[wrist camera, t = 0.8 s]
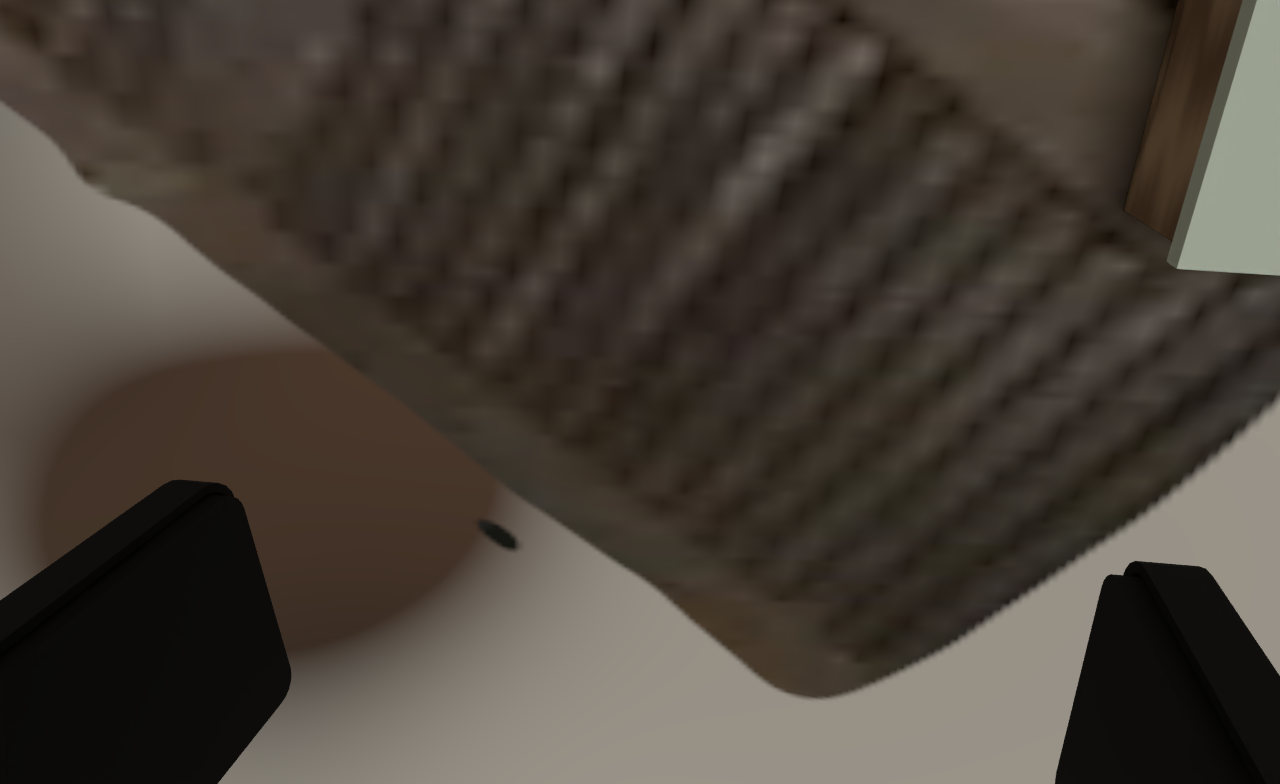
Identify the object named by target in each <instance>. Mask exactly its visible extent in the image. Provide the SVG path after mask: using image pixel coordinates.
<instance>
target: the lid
mask: <svg viewBox="0 0 1280 784" xmlns="http://www.w3.org/2000/svg"><path fill="white" fill-rule="evenodd" d="M1166 262H1168V263H1169V264H1171V265H1172V266H1173V267H1175V268H1176V269H1188V270H1203V271H1219V272H1234V273H1250V274H1265V275H1280V0H1243V1H1242V4H1241V8H1240V11H1239V15H1238V18H1237V21H1236V25H1235V28H1234V32H1233V35H1232V39H1231V42H1230V45H1229V49H1228V52H1227V56H1226V59H1225V63H1224V66H1223V69H1222V73H1221V76H1220V80H1219V83H1218V87H1217V90H1216V93H1215V97H1214V100H1213V104H1212V107H1211V110H1210V114H1209V117H1208V121H1207V124H1206V128H1205V131H1204V134H1203V138H1202V141H1201V145H1200V148H1199V152H1198V155H1197V158H1196V162H1195V165H1194V169H1193V172H1192V176H1191V179H1190V182H1189V186H1188V189H1187V193H1186V196H1185V200H1184V203H1183V206H1182V210H1181V213H1180V217H1179V220H1178V223H1177V227H1176V230H1175V234H1174V237H1173V241H1172V244H1171V247H1170V251H1169V254H1168V258H1167V261H1166Z"/></svg>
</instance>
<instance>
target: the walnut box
mask: <svg viewBox="0 0 1280 784" xmlns="http://www.w3.org/2000/svg"><path fill="white" fill-rule="evenodd" d="M1242 1H1243V0H1178V3H1177V7H1176V11H1175V15H1174V18H1173V22H1172V26H1171V30H1170V34H1169V38H1168V41H1167V45H1166V49H1165V53H1164V57H1163V60H1162V64H1161V68H1160V72H1159V76H1158V79H1157V83H1156V87H1155V91H1154V95H1153V99H1152V102H1151V106H1150V110H1149V114H1148V118H1147V121H1146V125H1145V129H1144V133H1143V137H1142V140H1141V144H1140V148H1139V152H1138V156H1137V160H1136V163H1135V167H1134V171H1133V175H1132V179H1131V182H1130V186H1129V190H1128V194H1127V198H1126V202H1125V205H1124V209H1123V211H1125V212H1127V213H1128V214H1130V215H1131V216H1133V217H1135V218H1136V219H1138V220H1139V221H1141V222H1143V223H1144V224H1146V225H1147V226H1149V227H1150V228H1152V229H1154V230H1155V231H1157V232H1158V233H1160V234H1162V235H1163V236H1165V237H1166V238H1168V239H1170V240H1171V241H1173V237H1174V234H1175V230H1176V227H1177V223H1178V220H1179V217H1180V213H1181V210H1182V206H1183V203H1184V200H1185V196H1186V193H1187V189H1188V186H1189V182H1190V179H1191V176H1192V172H1193V169H1194V165H1195V162H1196V158H1197V155H1198V152H1199V148H1200V145H1201V141H1202V138H1203V134H1204V131H1205V128H1206V124H1207V121H1208V117H1209V114H1210V110H1211V107H1212V104H1213V100H1214V97H1215V93H1216V90H1217V87H1218V83H1219V80H1220V76H1221V73H1222V69H1223V66H1224V63H1225V59H1226V56H1227V52H1228V49H1229V45H1230V42H1231V39H1232V35H1233V32H1234V28H1235V25H1236V21H1237V18H1238V15H1239V11H1240V8H1241V4H1242Z"/></svg>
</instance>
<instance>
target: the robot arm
mask: <svg viewBox="0 0 1280 784" xmlns="http://www.w3.org/2000/svg"><path fill="white" fill-rule="evenodd" d="M290 682H291V668H290V664H289V661H288V658H287V654H286V650H285V647H284V644H283V640H282V637H281V633H280V630H279V627H278V623H277V619H276V616H275V613H274V609H273V606H272V602H271V599H270V595H269V592H268V589H267V585H266V582H265V578H264V575H263V572H262V568H261V565H260V561H259V558H258V554H257V551H256V547H255V544H254V540H253V537H252V533H251V530H250V527H249V523H248V520H247V516H246V513H245V509H244V507H243V505H242V503H241V502H240V501H239V500H238V499H237V498H234V495H233V493H232V491H231V490H230V489H229V488H228V487H227V486H225V485H223V484H220V483H212V482H199V481H188V480H172V481H170V482H168V483H166V484H164V485H162V486H161V487H159V488H158V489H157V490H155V491H154V492H152V493H151V494H150V495H148V496H147V497H145V498H144V499H143V500H141V501H140V502H138V503H137V504H135V505H134V506H133V507H131V508H130V509H129V510H127V511H126V512H124V513H123V514H121V515H120V516H119V517H117V518H116V519H114V520H113V521H112V522H110V523H109V524H107V525H106V526H105V527H103V528H102V529H100V530H99V531H97V532H96V533H95V534H93V535H92V536H90V537H89V538H88V539H86V540H85V541H83V542H82V543H81V544H79V545H78V546H76V547H75V548H74V549H72V550H71V551H69V552H68V553H67V554H65V555H64V556H62V557H61V558H59V559H58V560H57V561H55V562H54V563H52V564H51V565H50V566H48V567H47V568H45V569H44V570H43V571H41V572H40V573H38V574H37V575H36V576H34V577H33V578H31V579H30V580H29V581H27V582H26V583H24V584H23V585H21V586H20V587H19V588H17V589H16V590H14V591H13V592H12V593H10V594H9V595H7V596H6V597H5V598H3V599H2V600H0V784H218V782H219V781H220V780H221V779H222V777H223V776H224V775H225V774H226V772H227V771H228V770H229V768H230V767H231V766H232V765H233V763H234V762H235V761H236V760H237V758H238V757H239V756H240V755H241V753H242V752H243V751H244V749H245V748H246V747H247V746H248V745H249V743H250V742H251V741H252V739H253V738H254V737H255V736H256V734H257V733H258V732H259V731H260V729H261V728H262V727H263V726H264V724H265V723H266V722H267V721H268V719H269V718H270V717H271V716H272V714H273V713H274V712H275V710H276V709H277V708H278V707H279V705H280V704H281V703H282V701H283V700H284V698H285V697H286V695H287V692H288V690H289V686H290ZM1055 784H1280V676H1279V674H1278V673H1277V671H1276V670H1275V668H1274V667H1273V665H1272V664H1271V662H1270V661H1269V659H1268V658H1267V656H1266V655H1265V653H1264V652H1263V650H1262V649H1261V648H1260V646H1259V645H1258V643H1257V642H1256V640H1255V639H1254V637H1253V636H1252V634H1251V633H1250V631H1249V630H1248V628H1247V627H1246V625H1245V624H1244V622H1243V621H1242V619H1241V618H1240V616H1239V615H1238V613H1237V612H1236V610H1235V609H1234V607H1233V606H1232V604H1231V603H1230V601H1229V600H1228V598H1227V597H1226V596H1225V594H1224V592H1223V591H1222V589H1221V588H1220V586H1219V585H1218V583H1217V582H1216V580H1215V579H1214V578H1213V576H1212V575H1211V574H1210V573H1209V572H1208V571H1207V570H1206V569H1205V568H1202V567H1199V566H1188V565H1176V564H1165V563H1152V562H1140V561H1135V562H1132V563H1130V564H1129V565H1128V567H1127V568H1126V570H1125V572H1124V575H1123V576H1122V575H1112V574H1111V575H1108V576H1107V577H1106V578H1105V580H1104V582H1103V585H1102V588H1101V592H1100V596H1099V600H1098V604H1097V608H1096V612H1095V616H1094V620H1093V624H1092V629H1091V633H1090V637H1089V641H1088V645H1087V649H1086V653H1085V658H1084V661H1083V666H1082V670H1081V674H1080V678H1079V682H1078V686H1077V690H1076V694H1075V698H1074V702H1073V707H1072V711H1071V715H1070V719H1069V723H1068V727H1067V731H1066V735H1065V739H1064V744H1063V748H1062V752H1061V756H1060V760H1059V764H1058V769H1057V772H1056V779H1055Z"/></svg>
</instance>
